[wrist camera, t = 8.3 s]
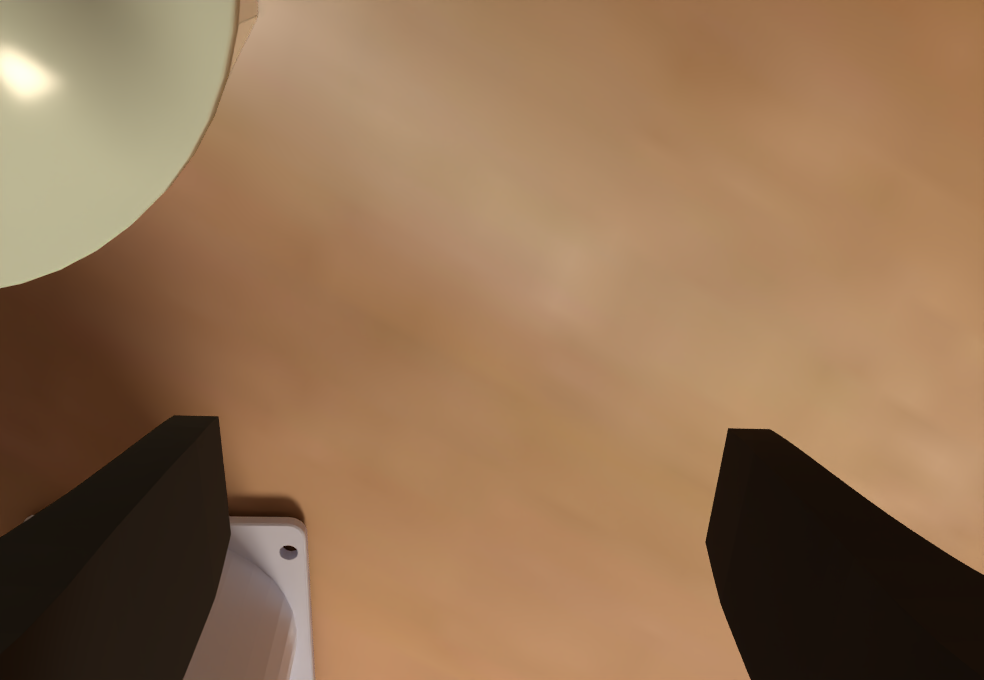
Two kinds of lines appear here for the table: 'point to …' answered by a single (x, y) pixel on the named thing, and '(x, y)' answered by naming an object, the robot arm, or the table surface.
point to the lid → (99, 117)
